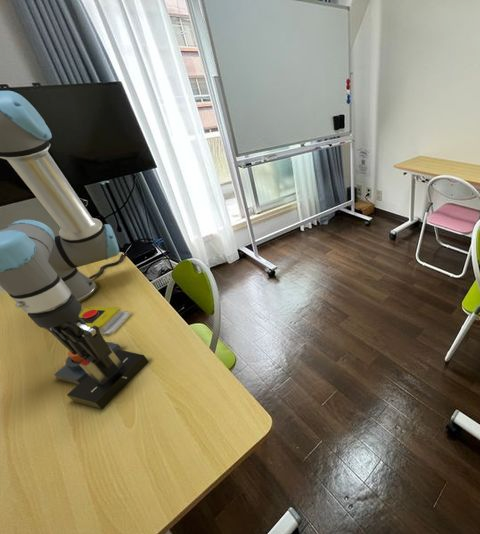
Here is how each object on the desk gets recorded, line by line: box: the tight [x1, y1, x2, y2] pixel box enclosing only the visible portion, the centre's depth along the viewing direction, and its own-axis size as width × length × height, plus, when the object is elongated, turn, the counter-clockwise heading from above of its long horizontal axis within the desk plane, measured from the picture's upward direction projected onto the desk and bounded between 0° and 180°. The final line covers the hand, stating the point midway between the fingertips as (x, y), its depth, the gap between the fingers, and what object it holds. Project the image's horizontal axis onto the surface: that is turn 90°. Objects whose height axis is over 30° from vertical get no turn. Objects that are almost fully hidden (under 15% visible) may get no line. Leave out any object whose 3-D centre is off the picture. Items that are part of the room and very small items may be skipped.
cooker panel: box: [66, 350, 149, 410], centre depth 76 cm, size 14×11×3 cm
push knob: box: [67, 350, 84, 363], centre depth 79 cm, size 5×5×3 cm
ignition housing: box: [53, 341, 123, 385], centre depth 81 cm, size 12×8×4 cm, turn 166°
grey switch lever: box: [80, 347, 124, 385], centre depth 73 cm, size 6×2×8 cm, turn 166°
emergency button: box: [79, 306, 131, 336], centre depth 93 cm, size 9×4×15 cm
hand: (108, 372), depth 74 cm, fingers closed on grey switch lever, 2 cm apart
